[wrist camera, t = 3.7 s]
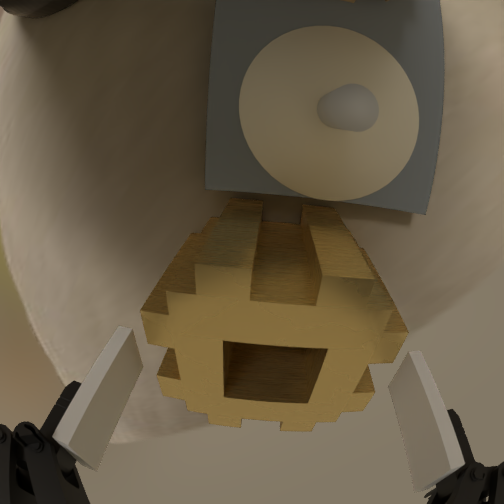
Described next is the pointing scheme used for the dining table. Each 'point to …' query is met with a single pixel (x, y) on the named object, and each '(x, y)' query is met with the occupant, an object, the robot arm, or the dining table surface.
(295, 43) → the gear board
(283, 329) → the gear
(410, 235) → the dining table surface
